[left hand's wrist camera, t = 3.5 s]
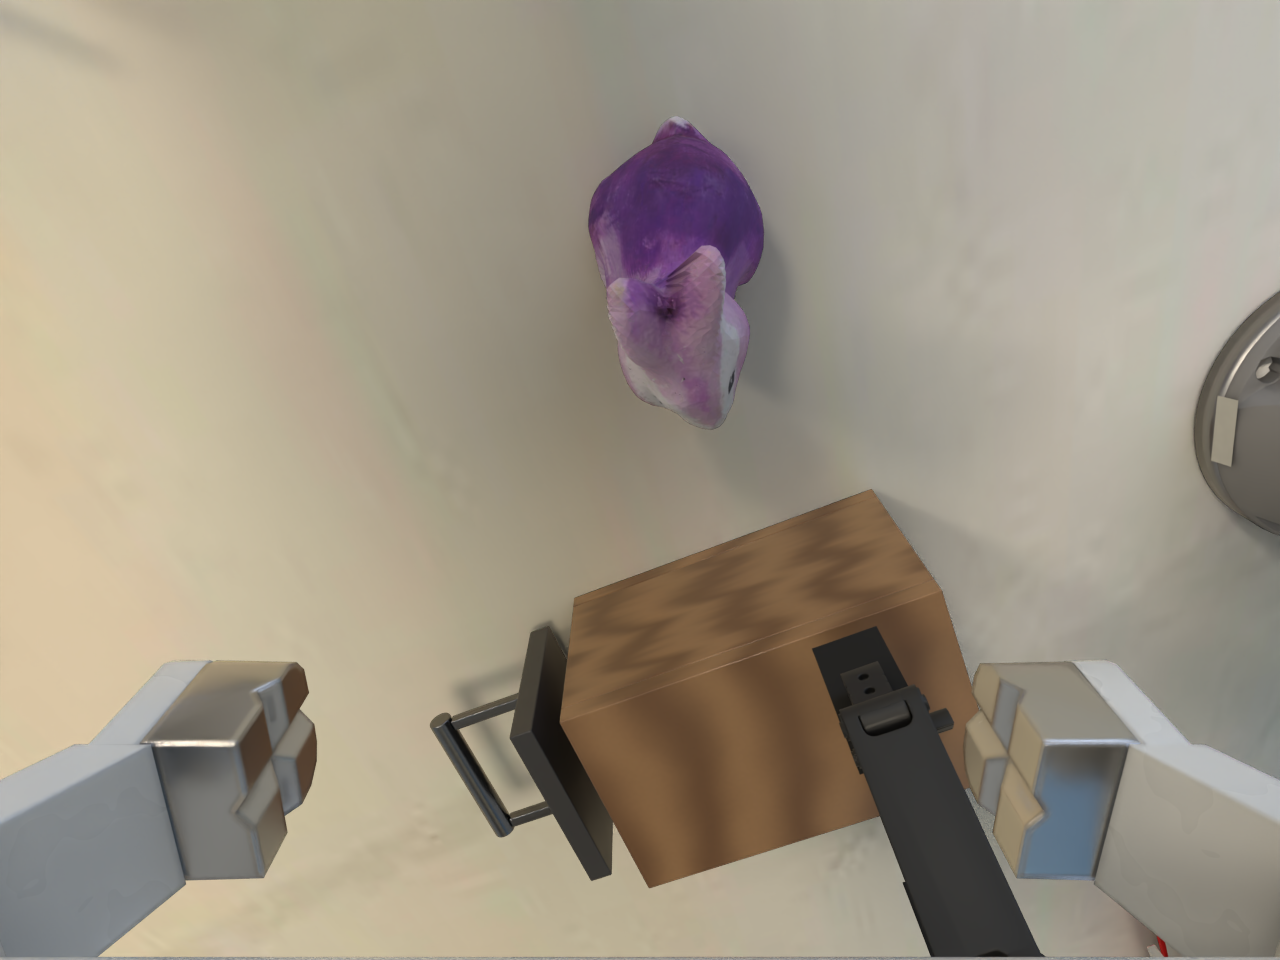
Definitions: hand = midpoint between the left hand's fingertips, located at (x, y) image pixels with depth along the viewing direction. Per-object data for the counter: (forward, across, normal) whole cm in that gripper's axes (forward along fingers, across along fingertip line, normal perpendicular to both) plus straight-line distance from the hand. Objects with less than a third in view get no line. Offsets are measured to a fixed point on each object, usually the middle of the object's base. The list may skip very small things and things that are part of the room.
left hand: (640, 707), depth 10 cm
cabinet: (+36, -7, +20) cm, 42 cm away
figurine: (+36, -2, -1) cm, 36 cm away
